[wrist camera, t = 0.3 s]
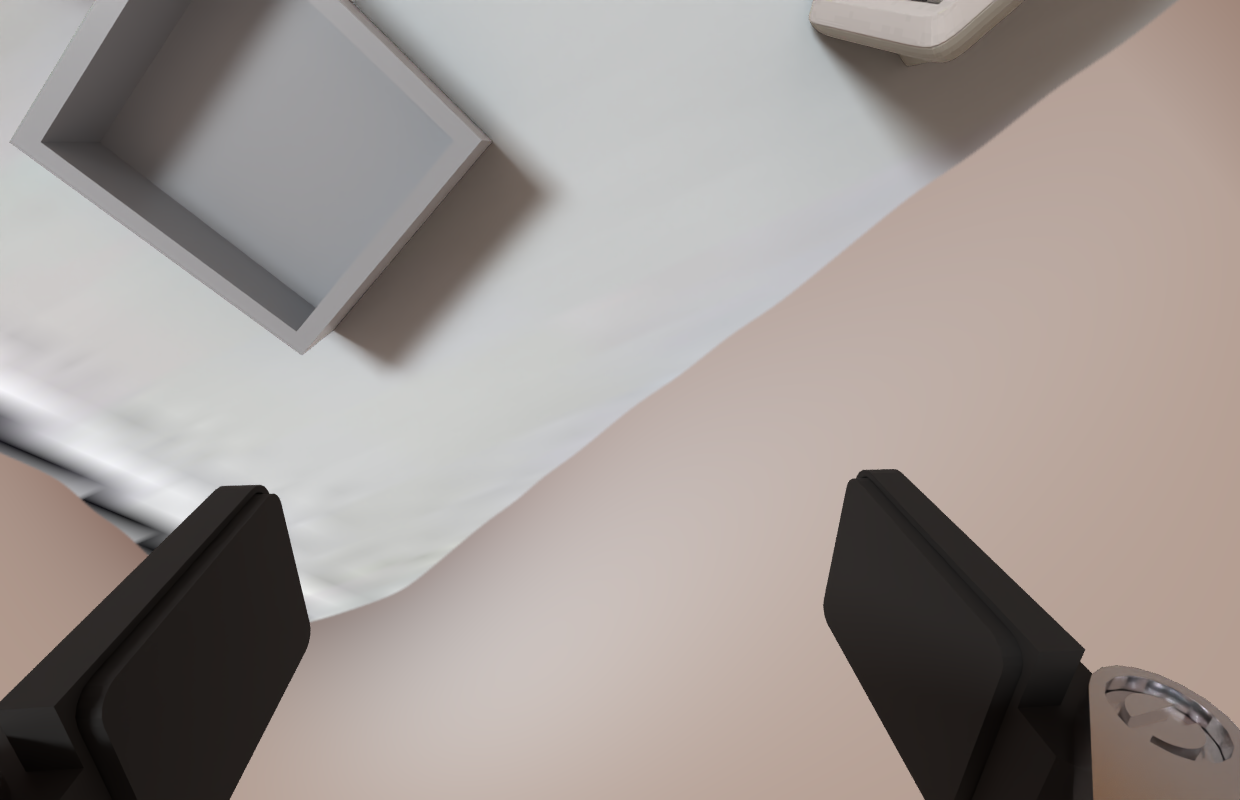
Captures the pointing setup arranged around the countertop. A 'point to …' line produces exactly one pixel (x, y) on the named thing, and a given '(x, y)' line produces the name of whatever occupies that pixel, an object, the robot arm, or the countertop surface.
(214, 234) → the bin
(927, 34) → the digital clock
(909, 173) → the countertop surface
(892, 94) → the countertop surface
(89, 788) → the robot arm
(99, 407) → the countertop surface
